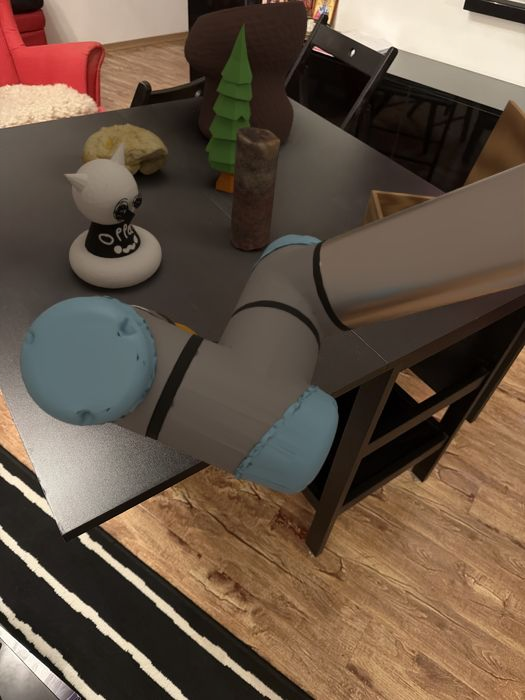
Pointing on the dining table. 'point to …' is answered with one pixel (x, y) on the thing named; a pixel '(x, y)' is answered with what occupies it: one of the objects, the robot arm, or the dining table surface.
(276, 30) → the vase
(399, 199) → the chest
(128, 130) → the beige rounded lump
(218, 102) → the decorative tree
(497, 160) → the lid
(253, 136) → the brown upright cylinder
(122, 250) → the decorative figurine
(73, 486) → the dining table surface
